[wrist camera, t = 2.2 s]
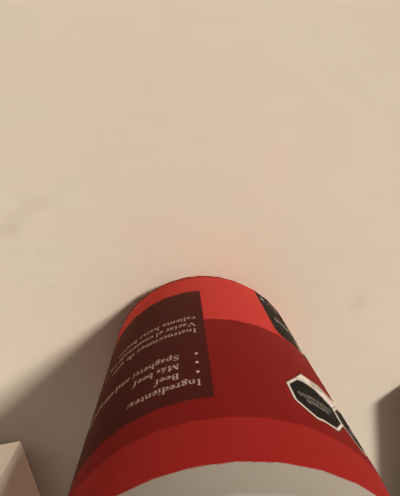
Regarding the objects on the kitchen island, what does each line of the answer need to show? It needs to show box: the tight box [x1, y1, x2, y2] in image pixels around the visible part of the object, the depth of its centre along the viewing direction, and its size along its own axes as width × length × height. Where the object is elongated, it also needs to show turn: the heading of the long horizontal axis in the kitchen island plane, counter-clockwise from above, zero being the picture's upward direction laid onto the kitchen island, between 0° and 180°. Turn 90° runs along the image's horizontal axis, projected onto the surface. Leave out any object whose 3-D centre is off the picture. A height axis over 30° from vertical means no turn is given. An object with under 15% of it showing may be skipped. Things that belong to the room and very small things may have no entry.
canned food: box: [68, 276, 390, 496], centre depth 12 cm, size 8×8×11 cm
